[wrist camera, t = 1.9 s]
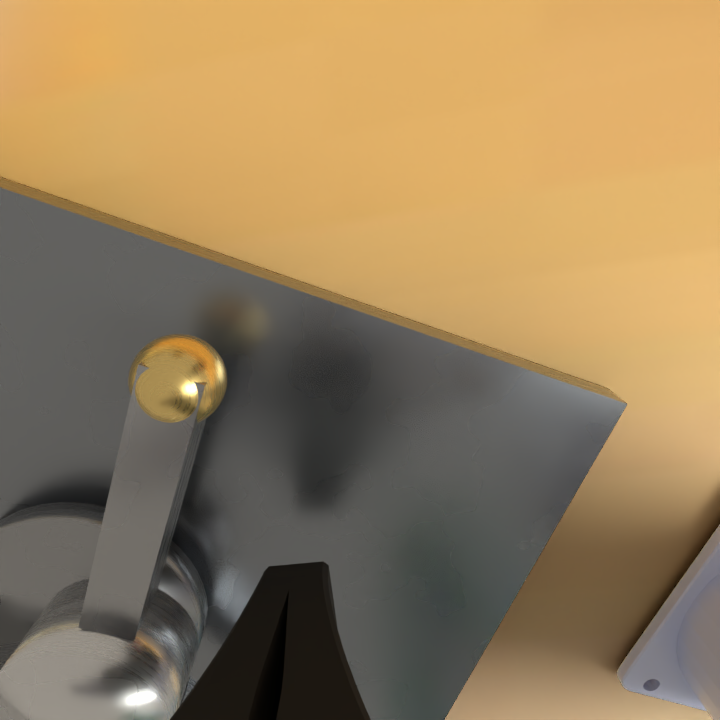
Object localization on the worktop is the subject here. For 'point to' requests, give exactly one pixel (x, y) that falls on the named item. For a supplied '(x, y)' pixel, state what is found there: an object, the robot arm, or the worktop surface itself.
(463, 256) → the worktop surface
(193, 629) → the capstan
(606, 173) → the worktop surface
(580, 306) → the worktop surface
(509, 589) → the plate
